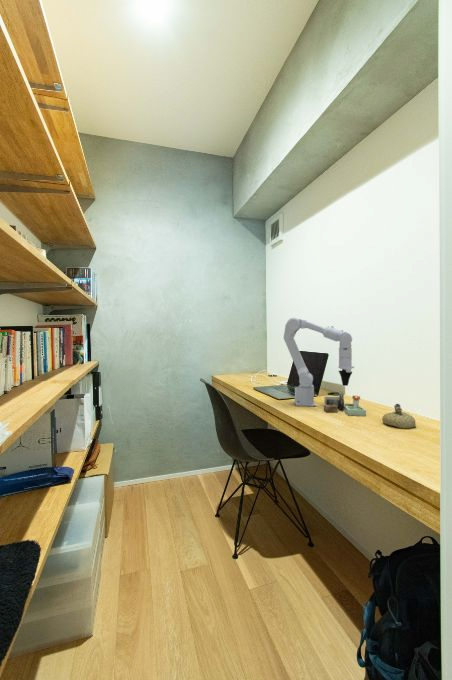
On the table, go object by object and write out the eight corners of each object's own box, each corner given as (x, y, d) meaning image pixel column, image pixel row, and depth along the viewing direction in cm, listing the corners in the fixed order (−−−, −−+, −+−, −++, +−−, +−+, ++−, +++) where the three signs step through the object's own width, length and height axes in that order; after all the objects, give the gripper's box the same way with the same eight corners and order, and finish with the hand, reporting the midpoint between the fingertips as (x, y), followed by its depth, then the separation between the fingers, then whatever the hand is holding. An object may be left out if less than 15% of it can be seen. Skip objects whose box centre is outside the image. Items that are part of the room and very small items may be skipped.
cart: (327, 410, 143) (327, 395, 143) (324, 405, 152) (324, 391, 152) (345, 410, 142) (345, 395, 141) (341, 405, 151) (341, 391, 151)
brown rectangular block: (326, 413, 139) (326, 406, 139) (323, 411, 142) (323, 404, 142) (337, 413, 139) (337, 406, 139) (334, 411, 142) (334, 404, 142)
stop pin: (353, 412, 135) (354, 396, 135) (349, 410, 138) (351, 395, 138) (360, 413, 135) (361, 397, 135) (356, 411, 139) (357, 395, 138)
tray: (348, 415, 134) (348, 409, 134) (344, 411, 141) (344, 405, 141) (366, 416, 132) (366, 410, 132) (361, 411, 140) (361, 406, 140)
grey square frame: (347, 410, 143) (347, 406, 143) (344, 407, 149) (344, 403, 148) (360, 410, 142) (360, 406, 142) (357, 407, 148) (357, 404, 148)
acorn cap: (419, 425, 121) (400, 404, 126) (419, 422, 112) (398, 399, 118) (397, 439, 123) (379, 417, 128) (396, 437, 114) (377, 414, 120)
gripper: (357, 358, 141) (357, 388, 141) (350, 356, 155) (350, 383, 155) (341, 358, 142) (341, 388, 142) (335, 356, 156) (335, 382, 157)
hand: (345, 385), depth 149 cm, fingers closed
